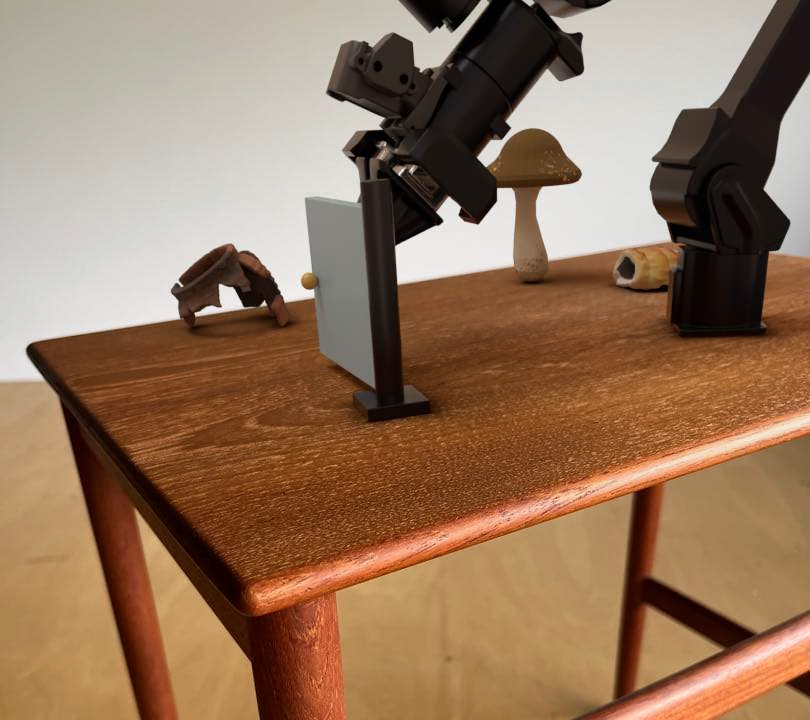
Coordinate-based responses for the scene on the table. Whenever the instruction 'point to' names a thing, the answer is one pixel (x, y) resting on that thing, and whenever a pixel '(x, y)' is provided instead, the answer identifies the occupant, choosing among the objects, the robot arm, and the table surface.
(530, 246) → the mushroom
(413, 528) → the table surface
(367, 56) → the robot arm
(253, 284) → the broken clay pot shard
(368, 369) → the door
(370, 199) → the door frame
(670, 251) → the pastry
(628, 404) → the table surface
